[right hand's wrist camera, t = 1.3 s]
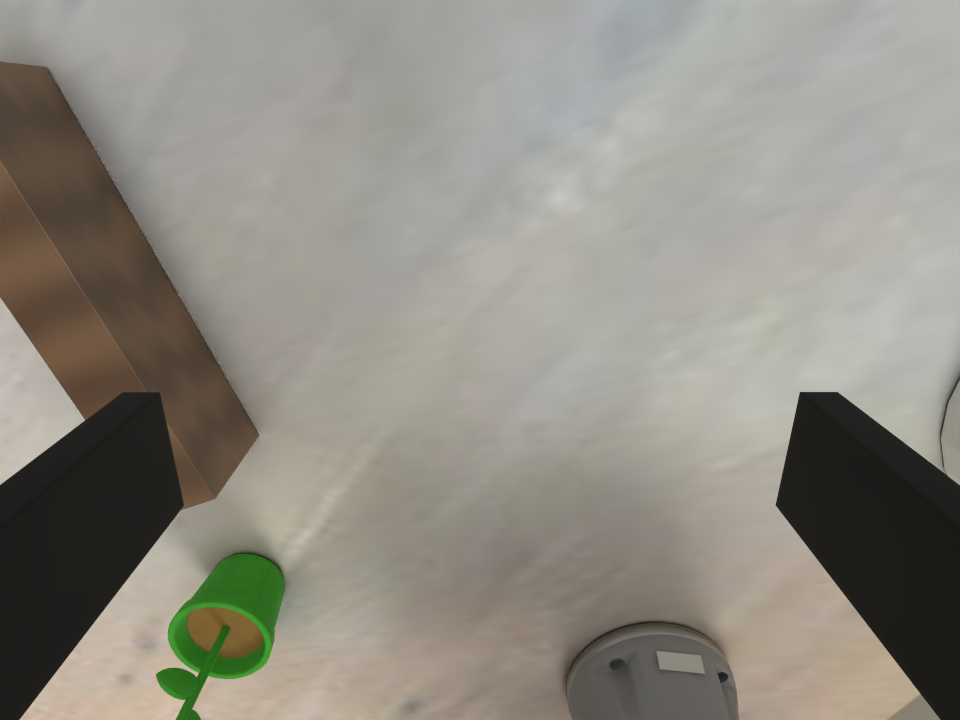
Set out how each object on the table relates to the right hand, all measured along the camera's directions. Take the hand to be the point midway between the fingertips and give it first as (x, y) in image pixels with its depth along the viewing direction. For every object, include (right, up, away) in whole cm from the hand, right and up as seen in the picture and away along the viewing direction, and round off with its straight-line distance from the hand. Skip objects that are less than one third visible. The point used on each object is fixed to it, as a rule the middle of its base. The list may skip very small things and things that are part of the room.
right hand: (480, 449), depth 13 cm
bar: (-24, +7, +30) cm, 39 cm away
